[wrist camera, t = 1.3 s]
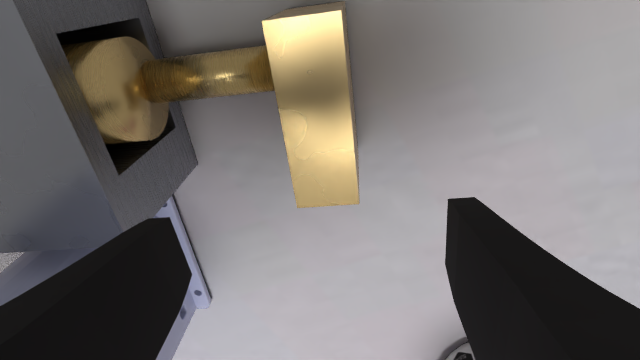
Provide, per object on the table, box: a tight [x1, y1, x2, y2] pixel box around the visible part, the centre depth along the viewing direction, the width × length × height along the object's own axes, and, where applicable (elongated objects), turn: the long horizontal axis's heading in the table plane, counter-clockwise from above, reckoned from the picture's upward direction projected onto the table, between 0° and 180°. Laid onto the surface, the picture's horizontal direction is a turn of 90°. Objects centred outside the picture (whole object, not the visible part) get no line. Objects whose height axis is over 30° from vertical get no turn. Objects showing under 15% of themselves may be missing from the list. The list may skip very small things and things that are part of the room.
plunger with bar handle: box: [61, 1, 359, 208], centre depth 16 cm, size 7×15×5 cm, turn 98°
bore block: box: [0, 0, 198, 253], centre depth 15 cm, size 10×8×7 cm
